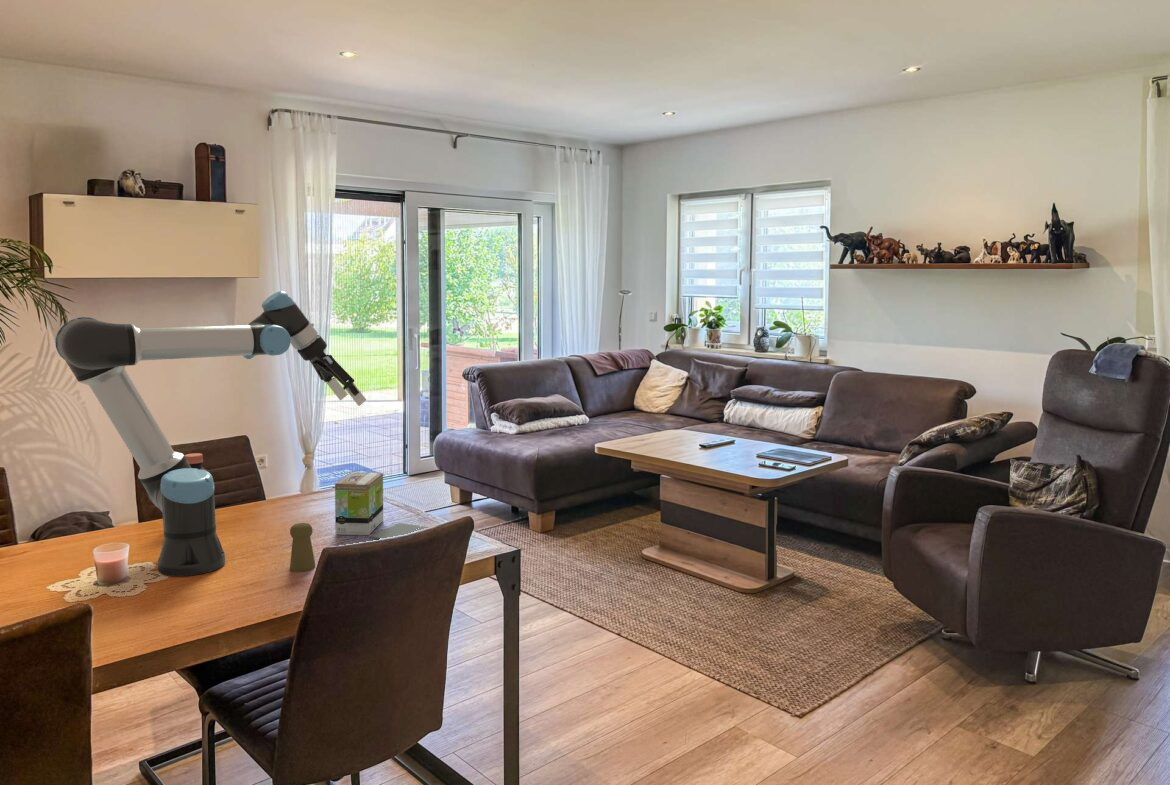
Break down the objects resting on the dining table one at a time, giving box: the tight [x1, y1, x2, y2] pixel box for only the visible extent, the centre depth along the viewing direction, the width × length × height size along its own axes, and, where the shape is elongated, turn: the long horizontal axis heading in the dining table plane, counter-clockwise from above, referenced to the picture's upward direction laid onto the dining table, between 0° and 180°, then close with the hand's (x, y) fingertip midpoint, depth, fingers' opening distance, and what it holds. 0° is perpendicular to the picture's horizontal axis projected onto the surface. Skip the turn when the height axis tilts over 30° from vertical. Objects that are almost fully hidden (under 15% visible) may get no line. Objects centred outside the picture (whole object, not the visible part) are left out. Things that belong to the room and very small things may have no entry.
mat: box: [368, 522, 428, 540], centre depth 237 cm, size 14×10×1 cm
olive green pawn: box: [289, 522, 316, 573], centre depth 209 cm, size 6×6×11 cm
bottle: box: [183, 452, 208, 472], centre depth 246 cm, size 7×7×20 cm
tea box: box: [334, 472, 384, 536], centre depth 242 cm, size 15×10×15 cm
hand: (353, 400), depth 244 cm, fingers open, 13 cm apart
